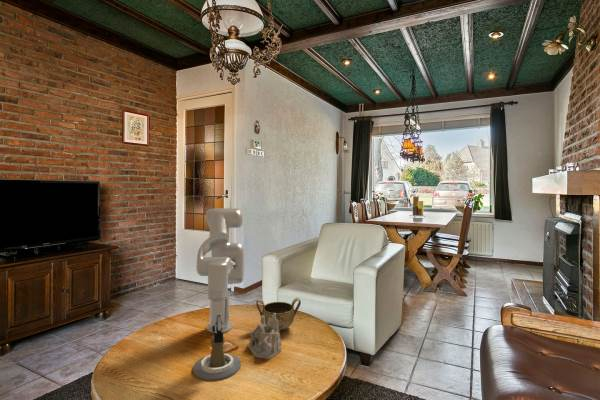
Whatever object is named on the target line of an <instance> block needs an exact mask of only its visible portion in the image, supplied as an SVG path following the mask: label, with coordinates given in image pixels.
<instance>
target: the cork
mask: <svg viewBox="0 0 600 400" xmlns="http://www.w3.org/2000/svg"><path fill="white" fill-rule="evenodd" d="M224 344H225V337H224V336H223V342H220V343H214V335H213V336H212V337H211V339H210V345H211V353H210V355H211V358H210V367H211V368H218V367H223V366H224V365H225V357H224V353H225V350H224Z"/></svg>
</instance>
